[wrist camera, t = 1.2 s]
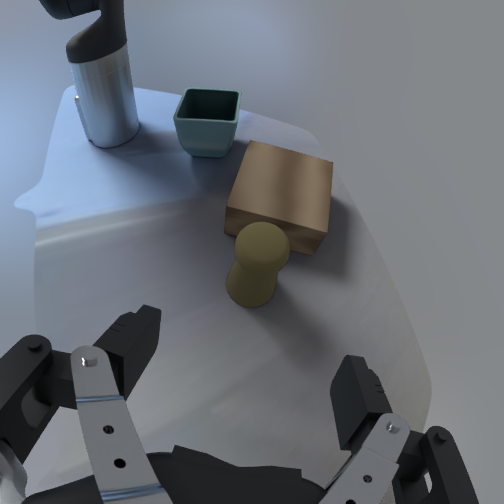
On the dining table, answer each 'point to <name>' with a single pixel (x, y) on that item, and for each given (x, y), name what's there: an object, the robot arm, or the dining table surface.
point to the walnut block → (282, 195)
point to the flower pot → (207, 120)
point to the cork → (257, 264)
